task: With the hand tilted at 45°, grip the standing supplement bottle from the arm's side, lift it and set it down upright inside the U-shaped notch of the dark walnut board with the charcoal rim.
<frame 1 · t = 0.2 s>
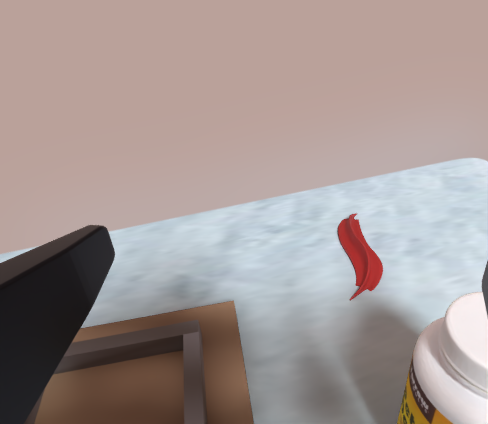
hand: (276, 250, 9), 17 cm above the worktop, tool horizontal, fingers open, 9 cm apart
cayenne pepper: (357, 257, 34), on the worktop
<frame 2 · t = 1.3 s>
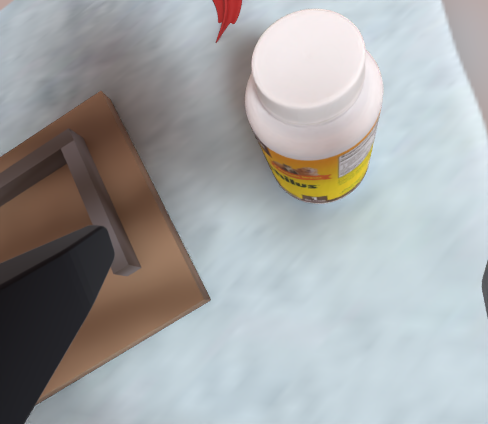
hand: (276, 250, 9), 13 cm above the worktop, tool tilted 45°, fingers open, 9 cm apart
supplement bottle: (320, 163, 23), on the worktop
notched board: (54, 253, 26), on the worktop
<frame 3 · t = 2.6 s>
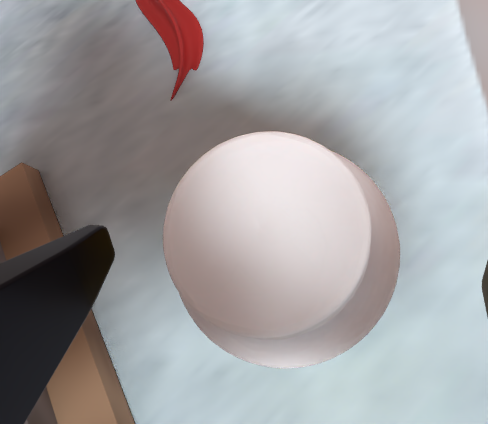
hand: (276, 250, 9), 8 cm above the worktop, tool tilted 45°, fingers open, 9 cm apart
cayenne pepper: (171, 22, 23), on the worktop
supplement bottle: (305, 276, 17), on the worktop
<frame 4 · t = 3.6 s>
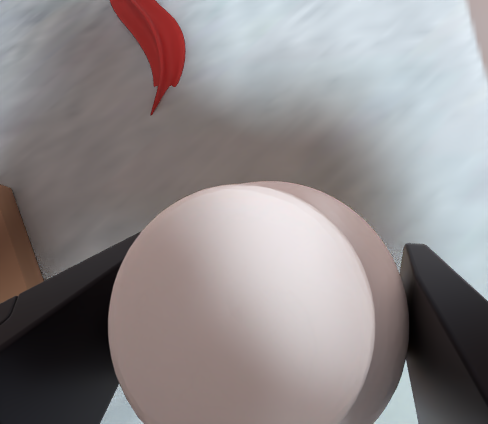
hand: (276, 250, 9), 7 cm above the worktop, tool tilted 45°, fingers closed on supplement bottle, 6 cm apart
cayenne pepper: (151, 27, 21), on the worktop
supplement bottle: (299, 310, 15), on the worktop, touching gripper
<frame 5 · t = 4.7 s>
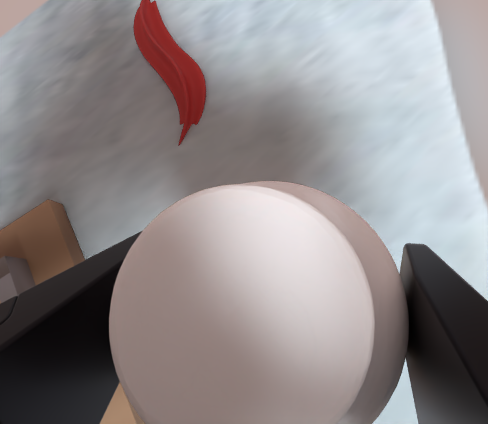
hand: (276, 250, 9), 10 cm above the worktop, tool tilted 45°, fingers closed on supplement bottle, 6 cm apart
cayenne pepper: (173, 66, 25), on the worktop
supplement bottle: (299, 310, 15), point 4 cm above the worktop, touching gripper
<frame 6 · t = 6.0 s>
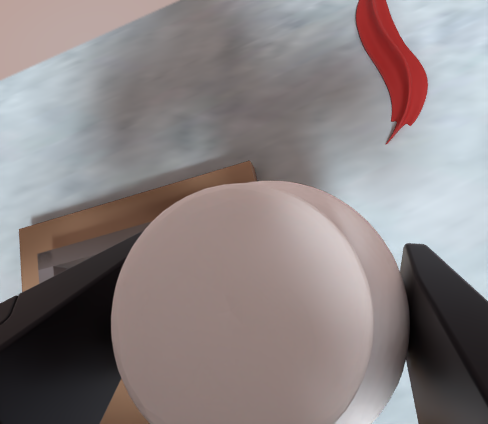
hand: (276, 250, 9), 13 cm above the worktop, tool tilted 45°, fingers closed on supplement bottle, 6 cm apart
cayenne pepper: (388, 62, 24), on the worktop
supplement bottle: (302, 310, 15), point 6 cm above the worktop, touching gripper
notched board: (155, 326, 23), on the worktop
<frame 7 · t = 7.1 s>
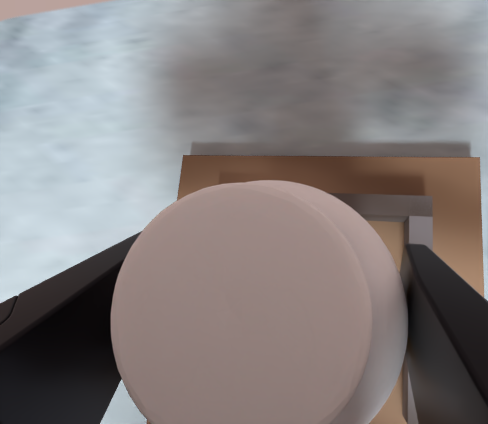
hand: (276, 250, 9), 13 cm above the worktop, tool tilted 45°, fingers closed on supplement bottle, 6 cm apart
supplement bottle: (301, 309, 15), point 6 cm above the worktop, touching gripper
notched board: (310, 304, 21), on the worktop
when the fingers open (10 cm above the worktop, at t = 8.0 s): supplement bottle drops 2 cm, resting on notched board.
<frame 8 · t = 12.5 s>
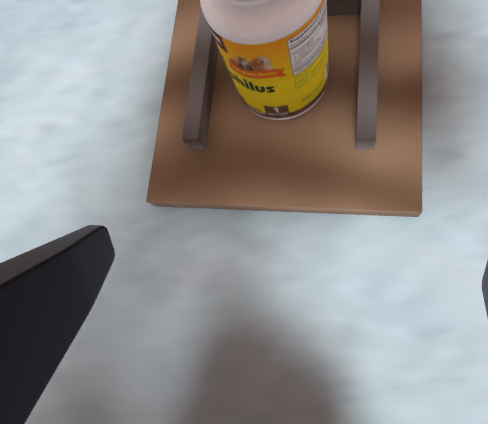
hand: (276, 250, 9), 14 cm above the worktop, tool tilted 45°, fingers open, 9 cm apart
supplement bottle: (284, 85, 24), point 1 cm above the worktop, touching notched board
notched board: (285, 91, 25), on the worktop
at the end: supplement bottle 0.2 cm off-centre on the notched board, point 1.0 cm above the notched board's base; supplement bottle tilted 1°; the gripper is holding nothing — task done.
